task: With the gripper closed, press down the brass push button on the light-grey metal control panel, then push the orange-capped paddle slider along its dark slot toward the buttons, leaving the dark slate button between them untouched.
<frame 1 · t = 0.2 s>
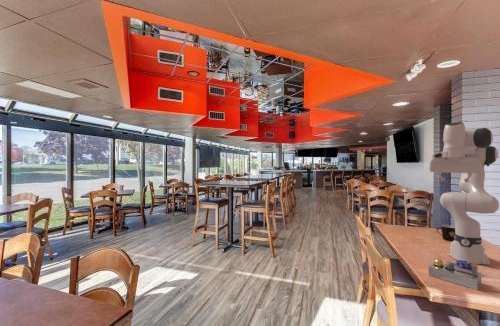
hand: (454, 181, 123), 47 cm above the table, fingers open, 8 cm apart
panel: (451, 278, 119), on the table
button brass: (438, 263, 123), point 6 cm above the table, slide at 0.0 cm
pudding: (463, 272, 127), on the table
slider: (474, 269, 112), point 7 cm above the table, slide at 0.0 cm
coffee mug: (445, 239, 180), on the table
button slate: (450, 266, 119), point 6 cm above the table, slide at 0.0 cm
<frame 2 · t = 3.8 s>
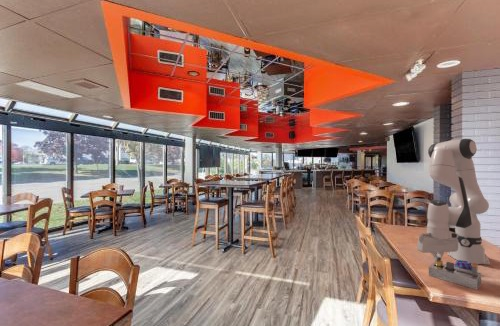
hand: (437, 260, 123), 7 cm above the table, fingers closed
button brass: (438, 264, 123), point 5 cm above the table, slide at 0.2 cm, touching gripper
everything else where it was.
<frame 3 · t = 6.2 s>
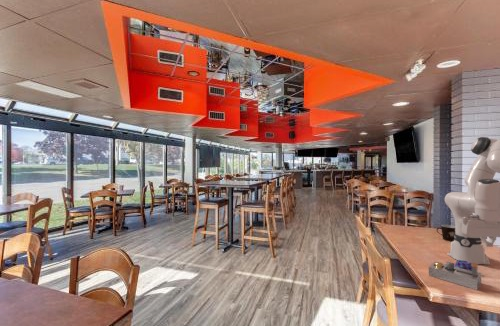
hand: (487, 246, 109), 19 cm above the table, fingers closed
button brass: (438, 266, 123), point 4 cm above the table, slide at 1.5 cm
everything else where it was.
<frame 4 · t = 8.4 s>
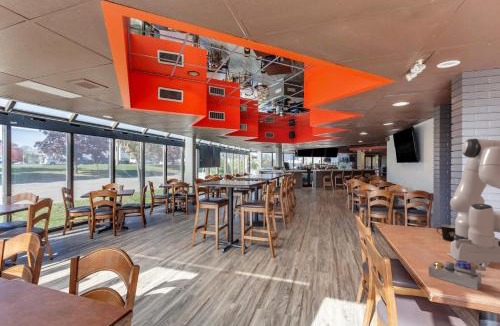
hand: (481, 270, 111), 8 cm above the table, fingers closed
slider: (473, 269, 113), point 7 cm above the table, slide at 0.5 cm, touching gripper
everything else where it was.
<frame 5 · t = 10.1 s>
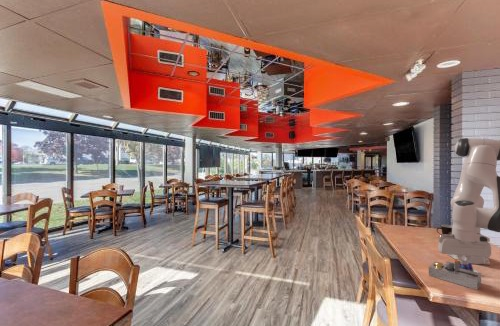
hand: (463, 264, 116), 8 cm above the table, fingers closed
slider: (457, 265, 117), point 7 cm above the table, slide at 6.3 cm, touching gripper
everything else where it was.
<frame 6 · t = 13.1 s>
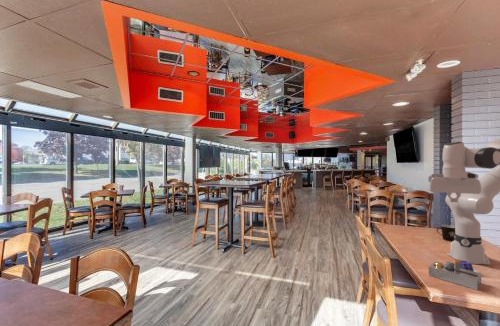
hand: (453, 201, 122), 37 cm above the table, fingers closed
slider: (457, 265, 117), point 7 cm above the table, slide at 6.1 cm
everything else where it was.
at the end: button brass slide at 1.5 cm; slider slide at 6.1 cm; button slate slide at 0.0 cm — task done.
